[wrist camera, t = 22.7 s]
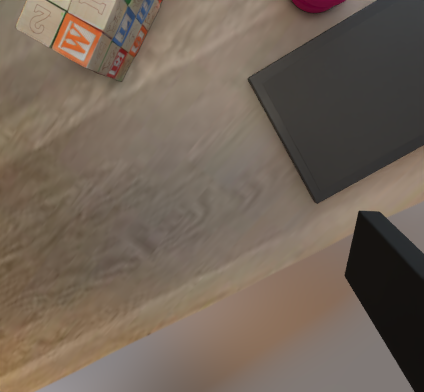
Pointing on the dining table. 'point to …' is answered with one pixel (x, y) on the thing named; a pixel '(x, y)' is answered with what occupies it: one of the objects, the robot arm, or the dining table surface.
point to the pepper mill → (316, 5)
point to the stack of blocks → (91, 30)
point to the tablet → (350, 96)
